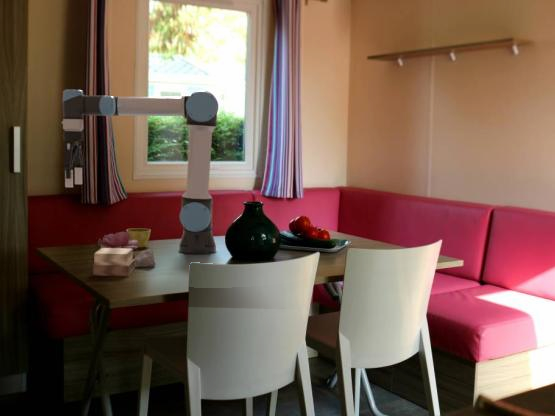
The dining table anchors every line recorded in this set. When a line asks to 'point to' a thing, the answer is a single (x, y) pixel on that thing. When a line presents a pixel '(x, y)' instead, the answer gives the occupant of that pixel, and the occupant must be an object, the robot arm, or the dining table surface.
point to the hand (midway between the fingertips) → (73, 185)
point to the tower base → (114, 269)
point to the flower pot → (139, 236)
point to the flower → (118, 241)
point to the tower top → (113, 256)
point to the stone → (145, 259)
